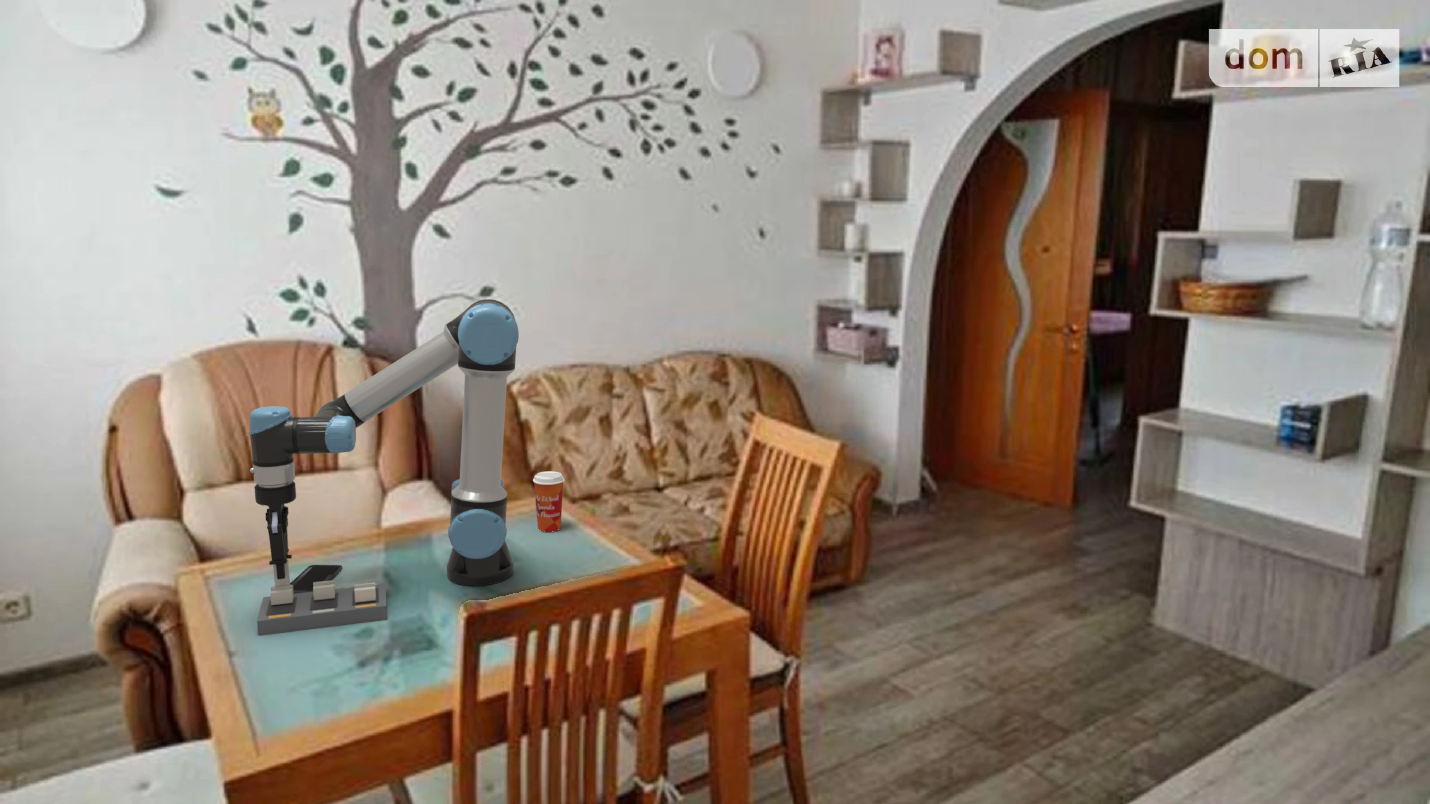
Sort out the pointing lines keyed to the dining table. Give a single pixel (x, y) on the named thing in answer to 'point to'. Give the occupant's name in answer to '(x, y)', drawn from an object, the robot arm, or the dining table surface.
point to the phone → (314, 577)
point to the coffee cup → (548, 500)
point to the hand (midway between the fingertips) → (282, 591)
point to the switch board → (320, 611)
